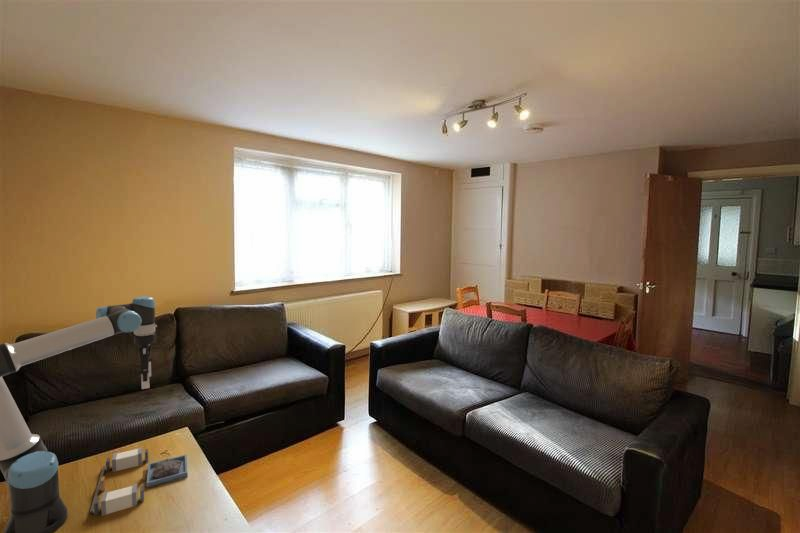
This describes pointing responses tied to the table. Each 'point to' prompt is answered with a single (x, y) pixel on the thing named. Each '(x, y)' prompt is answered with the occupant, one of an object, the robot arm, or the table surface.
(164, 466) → the rock
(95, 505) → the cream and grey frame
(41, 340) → the robot arm
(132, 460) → the fuse
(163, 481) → the tray
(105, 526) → the table surface
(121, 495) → the fuse
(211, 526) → the table surface
